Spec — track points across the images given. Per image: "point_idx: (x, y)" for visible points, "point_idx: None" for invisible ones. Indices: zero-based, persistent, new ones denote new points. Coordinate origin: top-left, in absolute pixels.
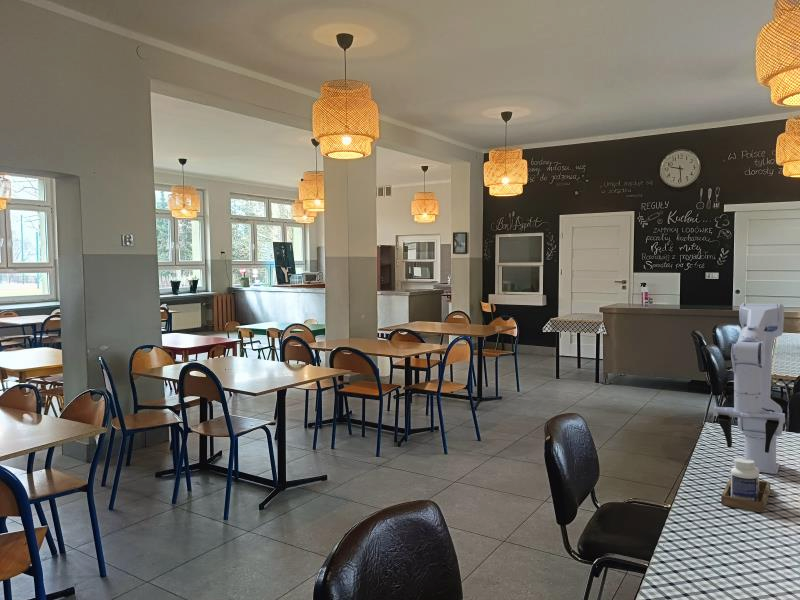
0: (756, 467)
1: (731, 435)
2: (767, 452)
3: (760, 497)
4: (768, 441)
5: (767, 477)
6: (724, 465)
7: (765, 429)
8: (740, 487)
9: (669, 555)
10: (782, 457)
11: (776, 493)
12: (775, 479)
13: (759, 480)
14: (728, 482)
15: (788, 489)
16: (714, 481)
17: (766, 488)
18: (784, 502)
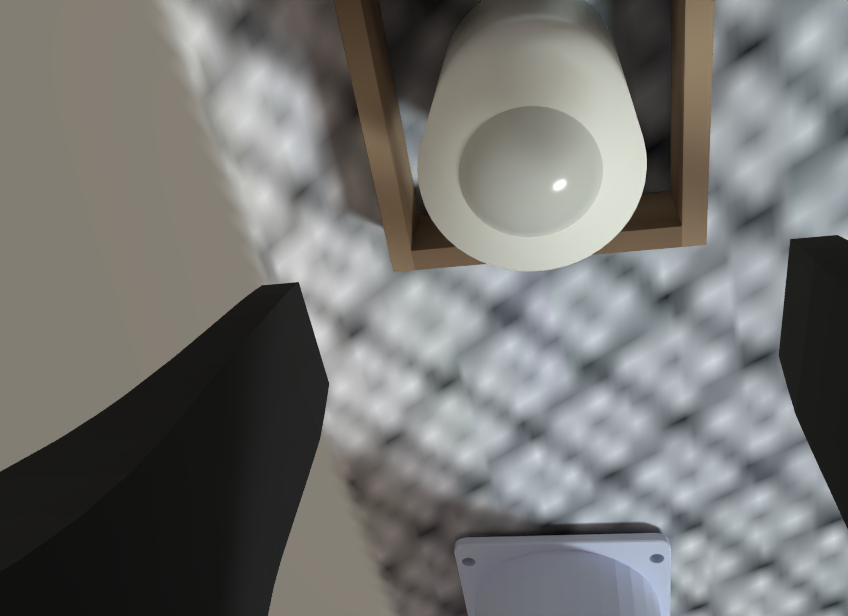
0: (460, 239)
1: (836, 490)
2: (266, 285)
3: None
4: (172, 372)
5: (490, 474)
6: (782, 554)
7: (74, 516)
8: None
9: None
10: None
11: (349, 199)
12: (439, 464)
13: (473, 263)
14: (708, 27)
15: (316, 330)
16: (836, 187)
17: (367, 86)
18: (232, 18)
